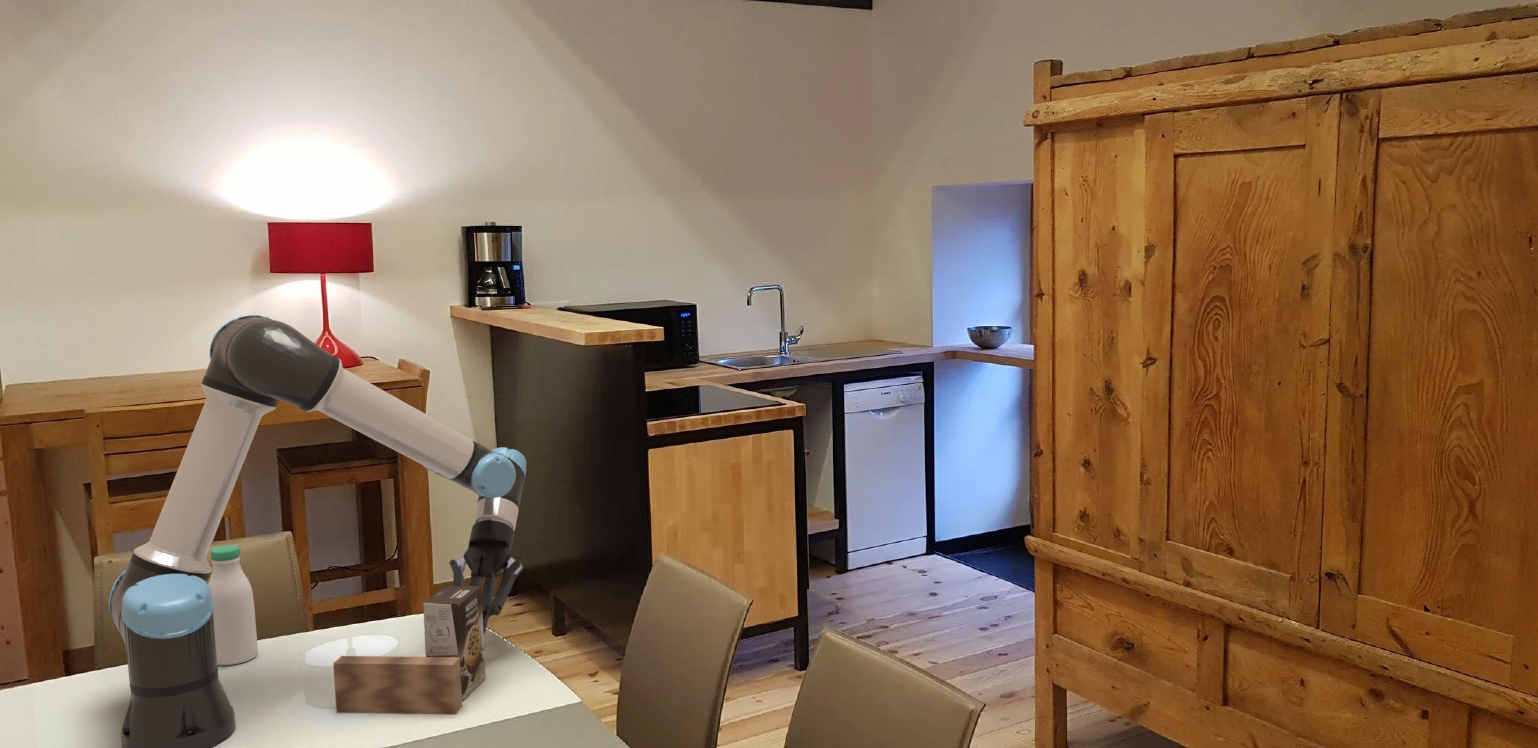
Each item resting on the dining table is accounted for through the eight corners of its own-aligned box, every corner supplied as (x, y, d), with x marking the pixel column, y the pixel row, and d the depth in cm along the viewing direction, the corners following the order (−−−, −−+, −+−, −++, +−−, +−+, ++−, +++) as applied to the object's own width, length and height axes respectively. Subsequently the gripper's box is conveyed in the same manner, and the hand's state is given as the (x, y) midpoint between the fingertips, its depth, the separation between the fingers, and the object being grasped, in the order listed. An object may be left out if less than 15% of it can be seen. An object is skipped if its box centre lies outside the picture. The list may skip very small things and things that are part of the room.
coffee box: (464, 701, 181) (459, 604, 178) (426, 699, 182) (420, 602, 179) (487, 678, 190) (483, 585, 187) (451, 676, 191) (446, 583, 188)
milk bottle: (267, 655, 201) (258, 545, 198) (226, 670, 195) (217, 557, 192) (241, 646, 205) (232, 539, 202) (200, 661, 199) (190, 550, 196)
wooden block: (336, 712, 177) (333, 663, 176) (344, 704, 180) (341, 656, 179) (455, 714, 176) (453, 665, 175) (462, 705, 179) (459, 657, 178)
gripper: (533, 538, 208) (512, 661, 193) (463, 538, 208) (437, 660, 194) (524, 518, 202) (501, 643, 187) (452, 517, 202) (424, 642, 188)
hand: (469, 652), depth 191 cm, fingers closed
